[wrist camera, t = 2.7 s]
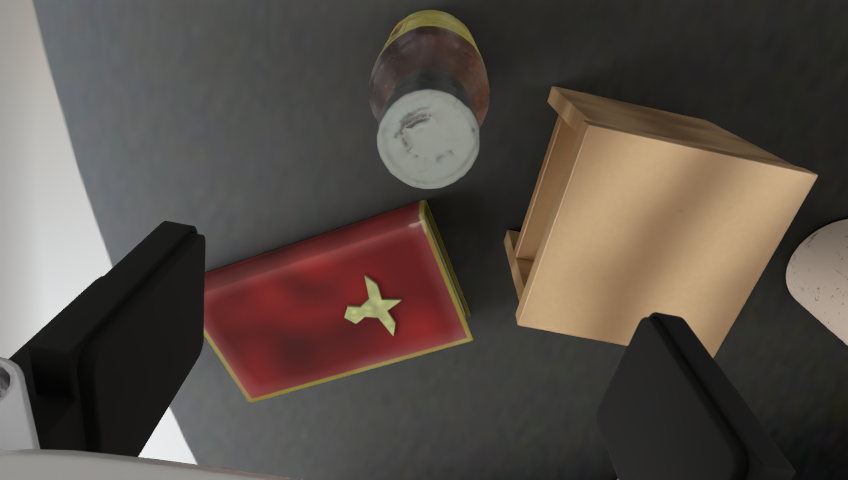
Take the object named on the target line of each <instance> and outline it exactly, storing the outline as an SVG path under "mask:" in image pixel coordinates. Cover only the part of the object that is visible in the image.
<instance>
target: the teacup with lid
mask: <svg viewBox="0 0 848 480" xmlns="http://www.w3.org/2000/svg"><path fill="white" fill-rule="evenodd" d="M786 283H787V287H788V289H789V292H790V293H791V295H792V296H793V297H794V298H795V299H796V300H797V301H798V302H799V303H800V304H801V305H802V306H803V307H805V308H806V309H807V310H808V311H809V312H810V313H811V314H812V315H814V316H815V317H816V318H817V319H818V320H819V321H820V322H822V323H823V324H824V325H825V326H826V327H827V328H828V329H830V330H831V331H832V332H833V333H834V334H835V335H836V336H837V337H839V338H840V339H841V340H842V341H843V342H844V343H845V344H847V345H848V219H845V220H841V221H837V222H834V223H831V224H829V225H826V226H824V227H822V228H821V229H819V230H817V231H816V232H814V233H813V234H811V235H810V236H809V237H807V238H806V239H805V240H804V241H803V242H802V243H801V244H800V245H799V246H798V248H797V249H796V250H795V252H794V253H793V255H792V257H791V259H790V261H789V263H788V266H787V270H786Z"/></svg>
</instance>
